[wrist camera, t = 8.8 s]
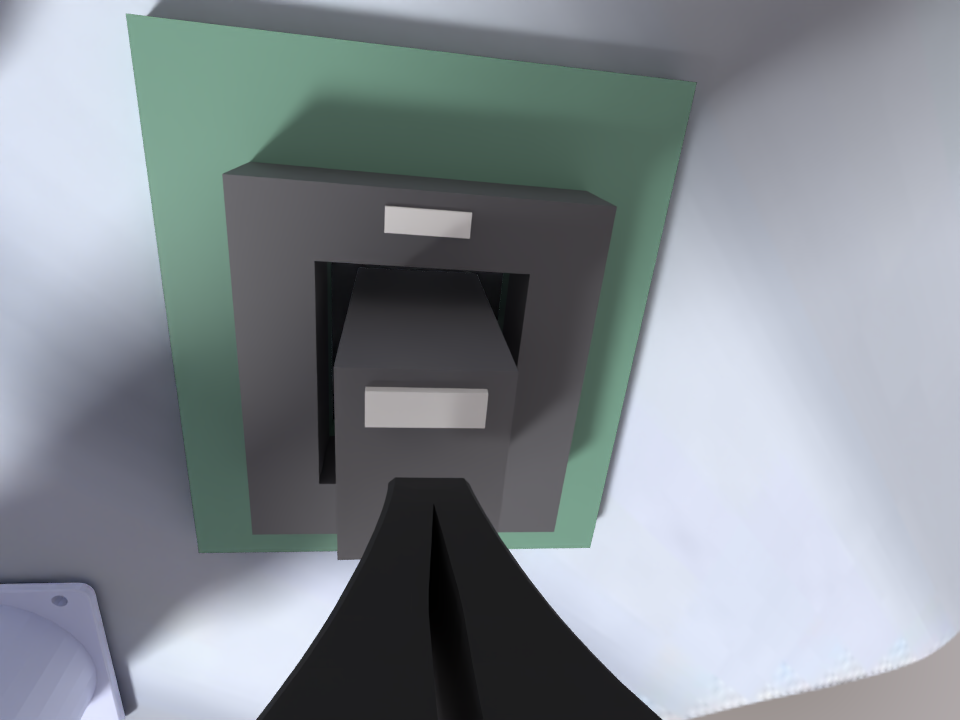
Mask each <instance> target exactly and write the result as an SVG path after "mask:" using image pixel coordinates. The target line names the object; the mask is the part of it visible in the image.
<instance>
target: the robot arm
mask: <svg viewBox="0 0 960 720" xmlns="http://www.w3.org/2000/svg"><path fill="white" fill-rule="evenodd" d="M62 596H63V597H62ZM125 719H126V718H125V714H124V710H123V706H122V701H121V697H120V693H119V689H118V685H117V681H116V677H115V672H114V668H113V664H112V660H111V656H110V652H109V648H108V643H107V639H106V635H105V631H104V627H103V623H102V619H101V614H100V610H99V606H98V602H97V598H96V594H95V591H94V589H93V588H92V587H91V586H89V585H87V584H85V583H32V584H0V720H125ZM256 720H662V719H661V718H660V717H659V716H658V715H657V714H656V713H654V712H653V711H652V710H651V709H650V708H649V707H648V706H647V705H646V704H645V703H643V702H642V701H641V700H640V699H639V698H638V697H637V696H636V695H635V694H634V693H632V692H631V691H630V690H629V689H628V688H627V687H626V686H625V685H624V684H622V683H621V682H620V681H619V680H618V679H617V678H616V677H615V676H614V675H613V674H612V673H611V672H610V671H609V670H608V669H607V668H606V667H605V666H604V665H603V664H602V663H601V661H600V660H599V659H598V658H597V657H596V656H595V655H594V654H593V653H592V652H591V651H590V650H589V649H588V648H587V647H586V646H585V645H584V644H583V643H582V641H581V640H580V639H579V638H578V637H577V636H576V635H575V634H574V633H573V632H572V631H571V629H570V628H569V627H568V626H567V625H566V624H565V623H564V621H563V620H562V619H561V618H560V617H559V616H558V614H557V613H556V612H555V611H554V610H553V608H552V607H551V606H550V605H549V604H548V602H547V601H546V600H545V598H544V597H543V596H542V595H541V593H540V592H539V591H538V590H537V588H536V587H535V586H534V584H533V583H532V582H531V581H530V579H529V578H528V576H527V575H526V574H525V572H524V571H523V570H522V568H521V567H520V566H519V564H518V563H517V561H516V560H515V558H514V557H513V555H512V554H511V552H510V551H509V550H508V548H507V547H506V545H505V544H504V542H503V541H502V539H501V538H500V536H499V535H498V533H497V532H496V530H495V528H494V527H493V525H492V524H491V522H490V520H489V519H488V517H487V515H486V514H485V512H484V510H483V508H482V507H481V505H480V503H479V501H478V500H477V498H476V496H475V494H474V492H473V490H472V488H471V486H470V484H469V483H468V482H467V481H466V480H465V479H464V478H408V477H395V478H394V479H393V480H391V481H390V482H389V483H388V490H387V494H386V498H385V502H384V505H383V508H382V511H381V514H380V517H379V519H378V522H377V524H376V527H375V530H374V532H373V534H372V536H371V538H370V540H369V543H368V545H367V547H366V549H365V551H364V553H363V556H362V558H361V560H360V562H359V564H358V566H357V568H356V570H355V572H354V573H353V575H352V577H351V579H350V581H349V582H348V584H347V586H346V588H345V590H344V591H343V593H342V595H341V597H340V599H339V600H338V602H337V604H336V606H335V607H334V609H333V611H332V612H331V614H330V616H329V617H328V619H327V621H326V622H325V624H324V625H323V627H322V629H321V630H320V632H319V633H318V635H317V636H316V638H315V639H314V641H313V642H312V644H311V645H310V647H309V648H308V650H307V651H306V653H305V654H304V656H303V657H302V659H301V660H300V662H299V663H298V664H297V666H296V667H295V669H294V670H293V671H292V673H291V674H290V675H289V677H288V678H287V679H286V681H285V682H284V684H283V685H282V686H281V688H280V689H279V690H278V692H277V693H276V694H275V696H274V697H273V699H272V700H271V701H270V703H269V704H268V705H267V706H266V708H265V709H264V710H263V712H262V713H261V714H260V715H259V717H258V718H257V719H256Z"/></svg>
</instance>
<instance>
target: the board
mask: <svg viewBox="0 0 960 720" xmlns="http://www.w3.org/2000/svg"><path fill="white" fill-rule="evenodd" d="M126 19H127V26H128V33H129V41H130V48H131V56H132V63H133V70H134V78H135V85H136V92H137V100H138V107H139V115H140V122H141V129H142V137H143V144H144V152H145V159H146V166H147V174H148V181H149V188H150V196H151V203H152V211H153V218H154V225H155V233H156V240H157V248H158V255H159V262H160V270H161V277H162V284H163V292H164V299H165V307H166V314H167V321H168V329H169V336H170V343H171V351H172V358H173V366H174V373H175V380H176V388H177V395H178V403H179V410H180V417H181V425H182V432H183V439H184V447H185V454H186V462H187V469H188V476H189V484H190V491H191V498H192V506H193V513H194V521H195V528H196V535H197V543H198V550H199V553H236V552H311V551H337V508H336V460H335V420H333V391H332V280H331V262H340V263H356V264H372V265H388V266H405V267H421V268H437V269H453V270H469V271H485V272H501V273H503V278H502V287H501V295H500V304H499V312H498V321H497V322H498V324H499V327H500V329H501V332H502V334H503V336H504V339H505V341H506V343H507V346H508V348H509V350H510V353H511V355H512V358H513V360H514V362H515V365H516V367H517V369H518V380H517V388H516V396H515V404H514V411H513V419H512V427H511V435H510V443H509V451H508V459H507V467H506V474H505V482H504V490H503V498H502V506H501V514H500V522H499V530H498V535H499V536H500V538H501V539H502V541H503V542H504V544H505V545H506V547H507V548H508V549H537V548H590V546H591V541H592V537H593V533H594V528H595V524H596V520H597V515H598V511H599V507H600V502H601V498H602V494H603V489H604V485H605V480H606V476H607V472H608V467H609V463H610V459H611V454H612V450H613V446H614V441H615V437H616V433H617V428H618V424H619V419H620V415H621V411H622V406H623V402H624V398H625V393H626V389H627V385H628V380H629V376H630V372H631V367H632V363H633V358H634V354H635V350H636V345H637V341H638V337H639V332H640V328H641V324H642V319H643V315H644V310H645V306H646V302H647V297H648V293H649V289H650V284H651V280H652V276H653V271H654V267H655V263H656V258H657V254H658V249H659V245H660V241H661V236H662V232H663V228H664V223H665V219H666V215H667V210H668V206H669V202H670V197H671V193H672V188H673V184H674V180H675V175H676V171H677V167H678V162H679V158H680V154H681V149H682V145H683V141H684V136H685V132H686V127H687V123H688V119H689V114H690V110H691V106H692V101H693V97H694V93H695V88H696V84H697V82H689V81H681V80H673V79H664V78H656V77H648V76H639V75H631V74H623V73H614V72H606V71H598V70H590V69H581V68H573V67H565V66H556V65H548V64H540V63H532V62H523V61H515V60H507V59H498V58H490V57H482V56H474V55H465V54H457V53H449V52H440V51H432V50H424V49H416V48H407V47H399V46H391V45H382V44H374V43H366V42H358V41H349V40H341V39H333V38H324V37H316V36H308V35H300V34H291V33H283V32H275V31H266V30H258V29H250V28H242V27H233V26H225V25H217V24H208V23H200V22H192V21H183V20H175V19H167V18H159V17H150V16H142V15H134V14H126Z"/></svg>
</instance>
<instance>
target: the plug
mask: <svg viewBox="0 0 960 720" xmlns="http://www.w3.org/2000/svg"><path fill="white" fill-rule="evenodd" d="M517 380H518V369H517V367H516V365H515V362H514V360H513V358H512V355H511V353H510V350H509V348H508V346H507V343H506V341H505V339H504V336H503V334H502V332H501V329H500V327H499V324H498V322H497V320H496V317H495V315H494V313H493V310H492V308H491V306H490V303H489V301H488V299H487V296H486V294H485V291H484V289H483V287H482V284H481V282H480V280H479V277H478V275H477V273H460V272H440V271H420V270H400V269H380V268H360V267H358V271H357V275H356V279H355V283H354V287H353V291H352V295H351V299H350V303H349V307H348V311H347V315H346V319H345V323H344V327H343V331H342V335H341V339H340V343H339V347H338V351H337V355H336V360H335V364H334V412H335V460H336V508H337V556H338V560H354V559H361V558H362V556H363V553H364V551H365V549H366V547H367V545H368V543H369V540H370V538H371V536H372V534H373V532H374V530H375V527H376V524H377V522H378V519H379V517H380V514H381V511H382V508H383V505H384V502H385V498H386V494H387V490H388V483H389V482H390V481H391V480H393V479H394V478H395V477H408V478H464V479H465V480H466V481H467V482H468V483H469V484H470V486H471V488H472V490H473V492H474V494H475V496H476V498H477V500H478V501H479V503H480V505H481V507H482V508H483V510H484V512H485V514H486V515H487V517H488V519H489V520H490V522H491V524H492V525H493V527H494V528H495V530H496V532H497V533H498V530H499V522H500V514H501V506H502V498H503V490H504V482H505V474H506V467H507V459H508V451H509V443H510V435H511V427H512V419H513V411H514V404H515V396H516V388H517Z"/></svg>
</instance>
